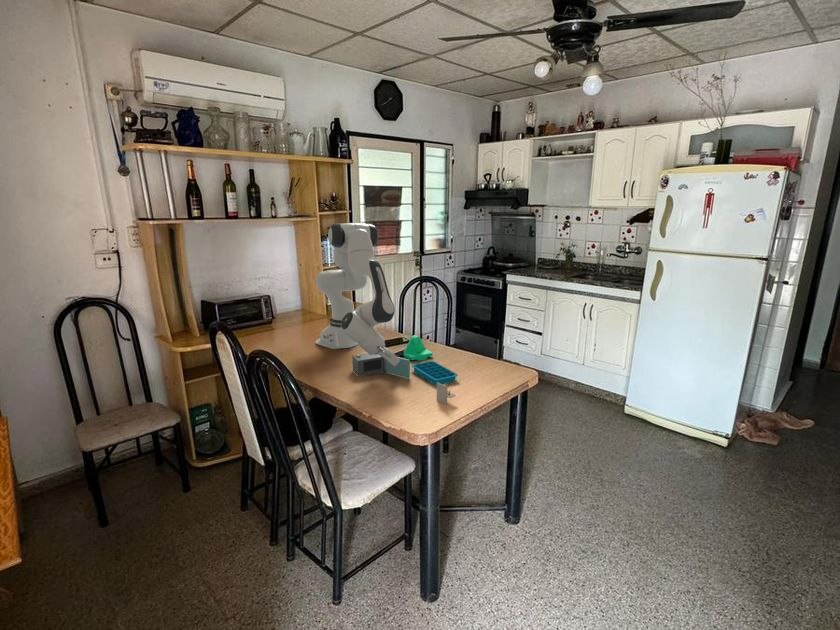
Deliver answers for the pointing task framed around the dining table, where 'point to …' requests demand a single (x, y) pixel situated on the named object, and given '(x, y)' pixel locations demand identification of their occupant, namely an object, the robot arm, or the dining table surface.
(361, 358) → the action camera
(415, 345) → the camera mount
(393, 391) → the dining table surface
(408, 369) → the side door
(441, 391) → the architectural model
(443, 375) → the ice cube tray
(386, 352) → the robot arm
